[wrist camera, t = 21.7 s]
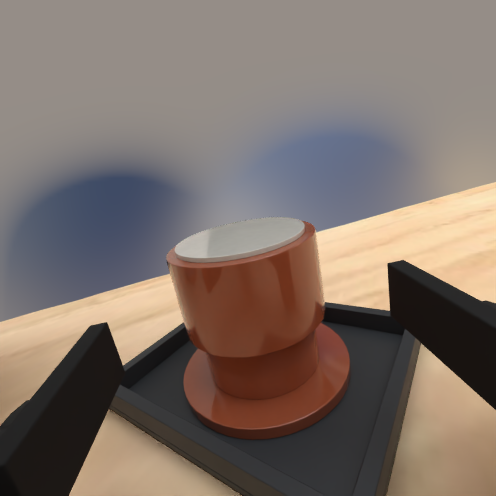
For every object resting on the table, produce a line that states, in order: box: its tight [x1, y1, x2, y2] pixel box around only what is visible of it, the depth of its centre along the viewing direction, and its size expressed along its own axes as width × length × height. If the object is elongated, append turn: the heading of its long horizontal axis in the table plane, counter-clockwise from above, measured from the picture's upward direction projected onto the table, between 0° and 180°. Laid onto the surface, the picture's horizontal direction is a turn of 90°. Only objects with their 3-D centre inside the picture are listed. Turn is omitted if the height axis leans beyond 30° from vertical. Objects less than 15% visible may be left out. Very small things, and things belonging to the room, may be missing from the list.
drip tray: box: [109, 302, 421, 496], centre depth 22 cm, size 19×16×2 cm
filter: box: [166, 217, 351, 440], centre depth 21 cm, size 13×12×10 cm
